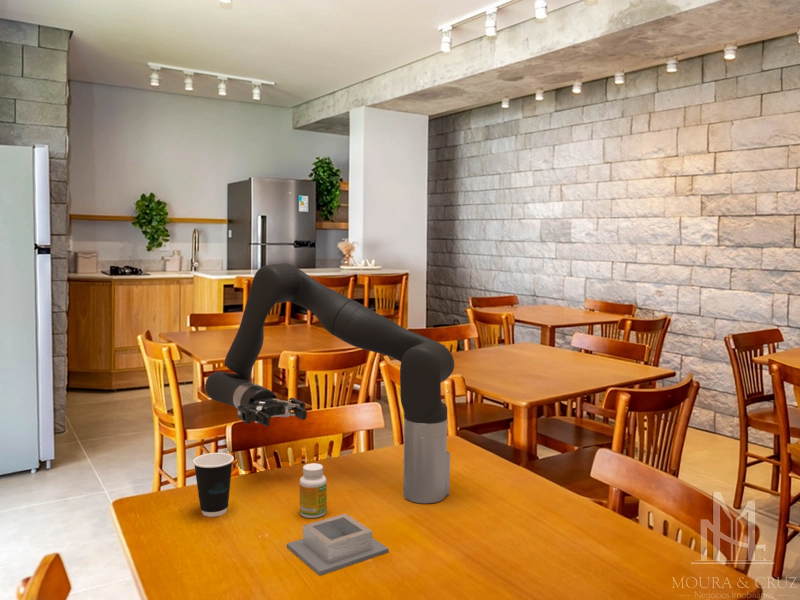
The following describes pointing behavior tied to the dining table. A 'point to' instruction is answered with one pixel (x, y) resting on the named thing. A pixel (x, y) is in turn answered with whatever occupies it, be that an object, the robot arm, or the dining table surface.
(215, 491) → the dixie cup
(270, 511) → the dining table surface
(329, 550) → the socket board
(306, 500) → the supplement bottle
